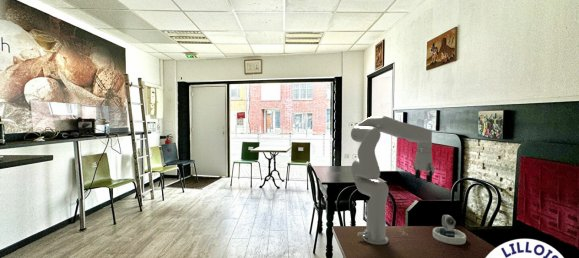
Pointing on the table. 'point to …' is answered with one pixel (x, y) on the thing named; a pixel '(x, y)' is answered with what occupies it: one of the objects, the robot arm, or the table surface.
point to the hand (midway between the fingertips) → (423, 179)
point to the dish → (458, 240)
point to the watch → (447, 226)
